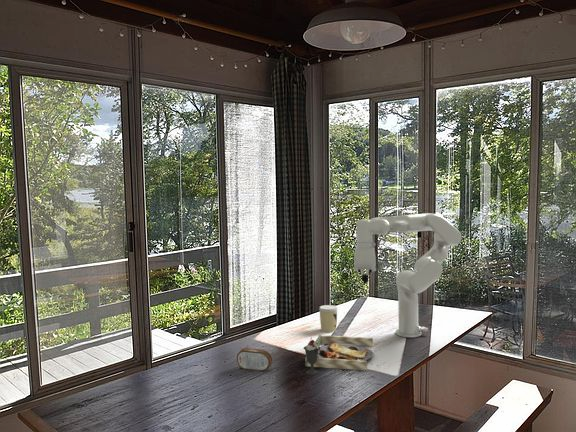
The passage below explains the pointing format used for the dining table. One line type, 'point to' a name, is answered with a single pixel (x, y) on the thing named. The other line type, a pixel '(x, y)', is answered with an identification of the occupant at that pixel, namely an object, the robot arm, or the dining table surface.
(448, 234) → the robot arm
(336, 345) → the food plate
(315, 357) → the sundae
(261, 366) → the tin
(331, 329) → the coffee cup
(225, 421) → the dining table surface
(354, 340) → the bay
